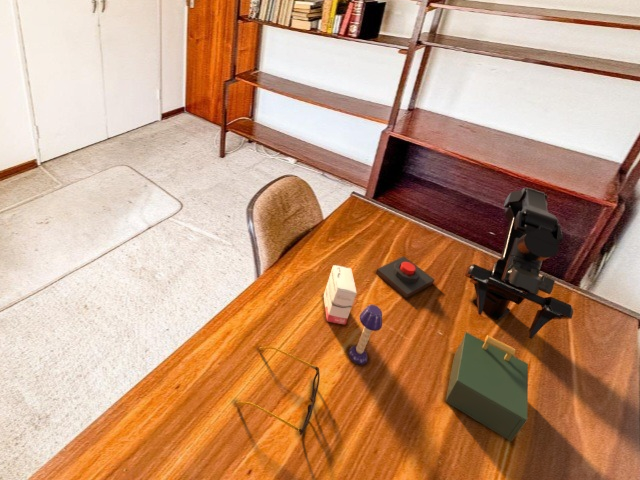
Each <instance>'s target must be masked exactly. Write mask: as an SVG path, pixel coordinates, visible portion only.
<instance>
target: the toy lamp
mask: <svg viewBox="0 0 640 480" xmlns="http://www.w3.org/2000/svg"><path fill="white" fill-rule="evenodd" d="M359 322H360V323H361V325H362V326H363V329H362V332H361V334H360V337H359V339H358V342H357V344H356V345H353V346H351V347H350V348H349V349H348V356H349V358H350V360H351V361H352V362H353V363H355V364H357V365H359V366H360V365H361V366H363V365H365V364H367V363H368V354H367V352H366V347H367V345H368V342H369V340H370V337H371V335H372V332H373V331H374V332H377V331H380V330H381V329H382V327H383V312H382V310H381V308H380V307H379V306H378V305H375V304H369V305H367V306H366V307H365V308H364V309H363V310H362V311H361V312H360V314H359Z"/></svg>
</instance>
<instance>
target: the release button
mask: <svg viewBox="0 0 640 480" xmlns="http://www.w3.org/2000/svg"><path fill="white" fill-rule="evenodd" d="M413 264H414V263H413ZM413 264H411V263H409V262H403V263H402V264H401V267H400V270H401V271H402V272H403V273H405V274H407V275H413V274H414V272H415V269H416V268H415V266H414V265H413Z"/></svg>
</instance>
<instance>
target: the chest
mask: <svg viewBox="0 0 640 480" xmlns="http://www.w3.org/2000/svg"><path fill="white" fill-rule="evenodd" d="M463 340H464V337H462V340H461V341H460V344H459V345H458V347H457V349H456V351H455V353H454V356H453V361H452V366H451V369H450V376H449V381H448V385H447V386H448V387H447V392H446V397H445V403H447V404H448V405H450V406H452V407H453V408H455V409H456V410H459V412H462V413H463V414H465V415H467V416H469V417H470V418H472V419H473V420H475V421H477V422H478V423H479V424H481V425H483V426H485V427H486V428H488V429H490V430H491V431H493V432H495V433H496V434H498V435H499V436H501V437H503V438H505V439H506V440H508V441H509V442H513V440H514V439H515V438H516V437H517V435H518V433H519V432H520V431H521V429H522V428H523V427H524V426H525V424H526V422H524V421H522V420H520V419H519V418H517V417H515V416H513V415H512V414H510V413H508V412H506V411H505V410H503V409H501V408H500V407H498V406H496V405H494V404H493V403H491V402H489V401H487V400H486V399H484V398H482V397H480V396H479V395H477V394H475V393H474V392H472V391H470V390H468V389H467V388H465V387H463V386H461V385H460V384H458V383H456V380H457V374H458V368H459V363H460V357H461V351H462V346H463Z"/></svg>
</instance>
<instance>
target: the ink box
mask: <svg viewBox="0 0 640 480" xmlns="http://www.w3.org/2000/svg"><path fill="white" fill-rule="evenodd" d="M354 279H355V278H354V275H353V270H352V268H351V267H348V266H344V265H340V264H339V265H338V264H333V265H332V268H331V271H330V274H329V277H328V280H327V283H326V287H325V290H324V293H323V301H324V309H325V317H326V322H329V323H334V324H339V325H346V324H347V322H348V319H349V316H350V313H351V310H352V308H353V306H354V303H355V300H356V297H357V294H358V292H357V287H356V283H355V280H354Z"/></svg>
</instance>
